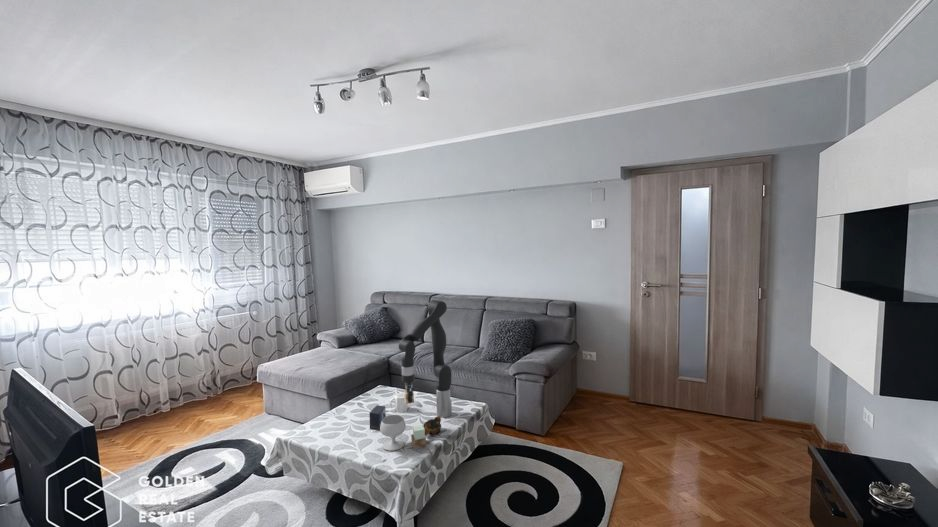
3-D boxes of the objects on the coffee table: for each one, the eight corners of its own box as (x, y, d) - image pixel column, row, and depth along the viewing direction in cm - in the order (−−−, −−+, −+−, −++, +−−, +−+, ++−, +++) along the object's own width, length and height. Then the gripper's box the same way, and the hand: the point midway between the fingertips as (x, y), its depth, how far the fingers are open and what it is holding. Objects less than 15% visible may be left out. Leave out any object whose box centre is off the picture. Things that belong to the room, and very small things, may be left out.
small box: (379, 430, 233) (378, 413, 233) (369, 429, 235) (368, 412, 234) (386, 421, 244) (385, 405, 243) (376, 421, 245) (376, 405, 244)
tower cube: (422, 433, 219) (422, 424, 219) (424, 438, 214) (424, 429, 213) (413, 435, 217) (413, 426, 217) (415, 440, 212) (414, 431, 212)
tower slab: (423, 440, 221) (423, 432, 220) (426, 447, 214) (426, 438, 214) (411, 443, 218) (411, 434, 218) (413, 449, 212) (413, 440, 211)
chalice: (411, 444, 216) (410, 418, 215) (391, 455, 206) (390, 428, 205) (396, 436, 226) (395, 411, 225) (375, 446, 215) (374, 420, 214)
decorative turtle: (446, 428, 233) (445, 416, 232) (432, 442, 220) (431, 429, 219) (432, 424, 238) (432, 412, 237) (418, 437, 225) (417, 424, 224)
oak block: (412, 399, 235) (412, 389, 235) (414, 402, 231) (413, 392, 230) (404, 400, 234) (404, 391, 233) (405, 403, 229) (405, 394, 229)
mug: (407, 406, 266) (406, 392, 265) (408, 411, 257) (407, 397, 256) (389, 408, 263) (388, 394, 262) (389, 413, 254) (389, 399, 254)
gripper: (416, 376, 225) (417, 404, 226) (412, 368, 239) (413, 395, 240) (403, 378, 223) (404, 406, 224) (400, 369, 236) (401, 396, 238)
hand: (409, 400), depth 232 cm, fingers closed on oak block, 4 cm apart
